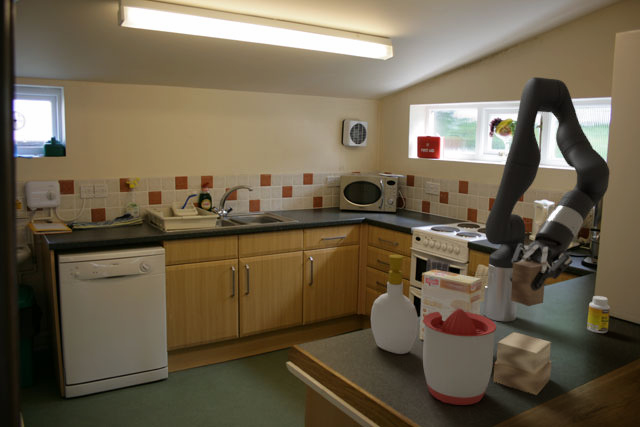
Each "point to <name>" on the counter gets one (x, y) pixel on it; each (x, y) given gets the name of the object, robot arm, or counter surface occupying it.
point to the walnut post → (526, 283)
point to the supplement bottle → (598, 315)
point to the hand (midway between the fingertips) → (522, 285)
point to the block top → (523, 352)
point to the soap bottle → (394, 314)
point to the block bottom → (522, 377)
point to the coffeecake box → (448, 294)
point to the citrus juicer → (458, 356)
